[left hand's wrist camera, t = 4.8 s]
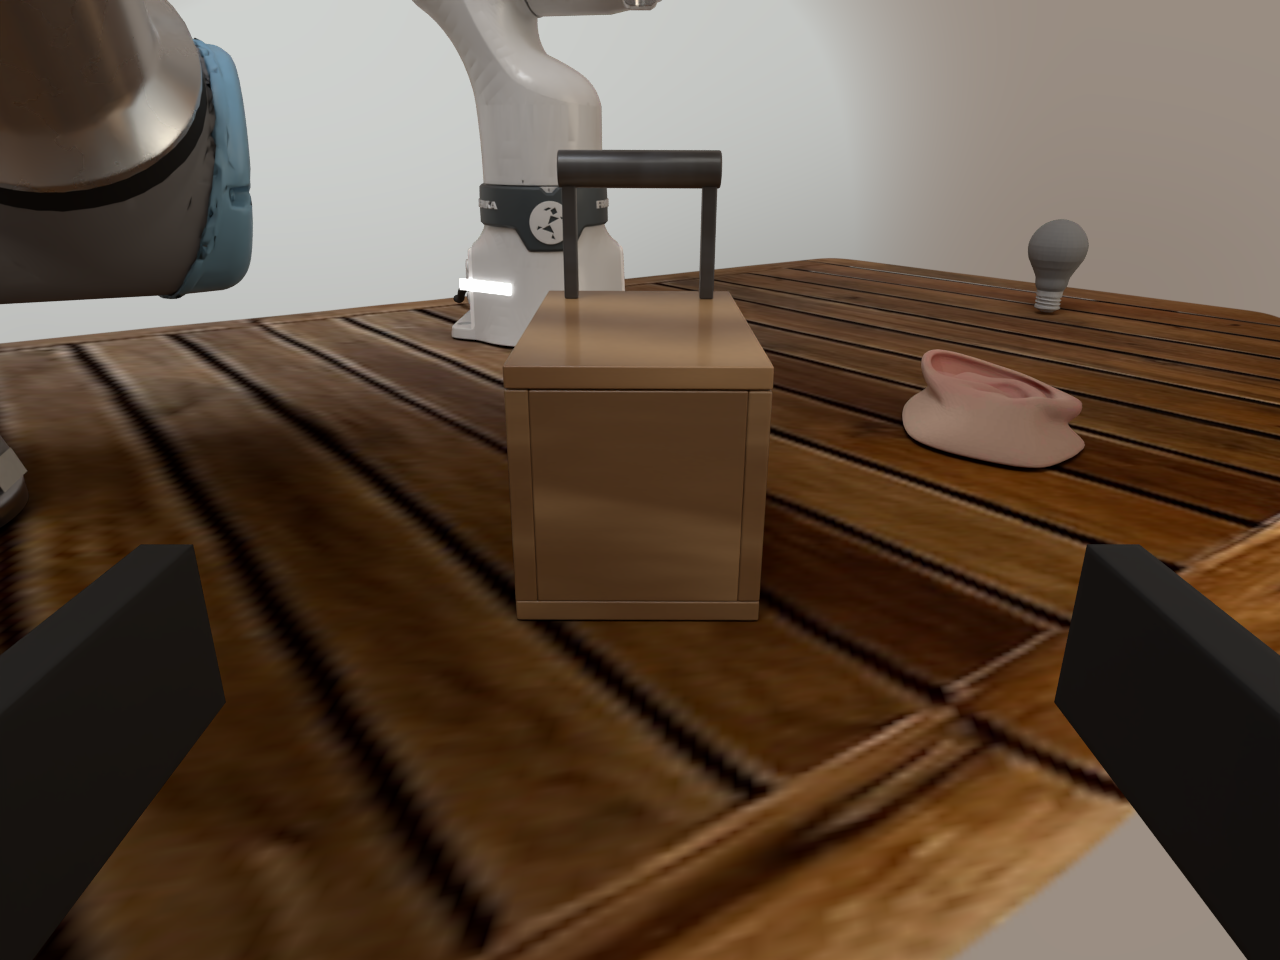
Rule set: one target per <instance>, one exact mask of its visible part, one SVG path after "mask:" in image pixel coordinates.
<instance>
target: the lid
mask: <svg viewBox="0 0 1280 960" xmlns="http://www.w3.org/2000/svg"><path fill="white" fill-rule="evenodd" d="M721 177H722V153H721V151H719V150H558V152H557V180H558V186H559V187H560V188H561V190H562V225H563V261H564V291H549V292H548V293H547V295H546V297H545V298H544V300H543V302H542V303H541V305H540V306H539V308H538V310H537V311H536V313H535V315H534V316H533V318H532V320H531V321H530V323H529V324H528V326H527V328H526V329H525V331H524V333H523V334H522V336H521V338H520V339H519V341H518V343H517V344H516V346H515V347H514V349H513V351H512V352H511V354H510V356H509V357H508V359H507V361H506V362H505V364H504V365H503V380H504V388H506V389H745V390H771V389H772V388H773V377H774V367H773V365H772V363H771V362H770V360H769V358H768V357H767V355H766V353H765V352H764V350H763V348H762V347H761V345H760V343H759V342H758V340H757V338H756V337H755V335H754V333H753V331H752V330H751V328H750V326H749V325H748V323H747V321H746V320H745V318H744V316H743V315H742V313H741V311H740V310H739V308H738V306H737V304H736V303H735V301H734V299H733V298H732V296H731V294H730V293H729V292H728V291H714V263H715V235H716V207H717V188H720V185H721ZM577 188H702V209H701V243H700V276H699V291H579V277H578V231H577Z"/></svg>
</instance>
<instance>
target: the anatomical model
mask: <svg viewBox="0 0 1280 960" xmlns="http://www.w3.org/2000/svg"><path fill="white" fill-rule="evenodd" d="M921 368H922V373H923V376H924V378H925V381H926V382H927V384H928V386H927V387H926V389H924V390H923V391H921V392H919V393H918V394H916V395H915V396H913V397H912V398H911V399H910V400H909V401H908V402H907V403H906V404H905V406H904V409H903V414H902V418H903V424H904V427H905V429H906V431H907V433H908V434H909V435H910V436H911V437H912V438H913V439H915V440H916V441H918V442H920V443H922V444H925V445H927V446H930V447H933V448H936V449H939V450H942V451H945V452H949V453H953V454H957V455H960V456H965V457H969V458H973V459H978V460H983V461H987V462H992V463H998V464H1003V465H1009V466H1016V467H1024V468H1043V467H1048V466H1052V465H1055V464H1058V463H1060V462H1063V461H1065V460H1067V459H1069V458H1071V457H1073V456H1075V455H1076V454H1078V453H1079V452H1080V451H1081V450H1082V449H1083V448H1084V446H1085V444H1084V441H1083V440H1082V439H1081V438H1080V437H1079V436H1078V435H1077V434H1076V433H1075V432H1074V431H1073V430H1072V429H1071V428H1070V427H1069V425H1068V422H1069V421H1070V420H1072V419H1073V418H1075V417H1076V416H1078V415H1079V413H1080V412H1081V409H1082V403H1081V402H1080V401H1079V400H1078V399H1077V398H1075V397H1073V396H1071V395H1069V394H1067V393H1064V392H1062V391H1060V390H1058V389H1056V388H1053V387H1051V386H1049V385H1047V384H1045V383H1043V382H1041V381H1038V380H1036V379H1034V378H1032V377H1029V376H1027V375H1025V374H1022V373H1019V372H1017V371H1014V370H1011V369H1008V368H1005V367H1002V366H999V365H996V364H992V363H989V362H986V361H983V360H980V359H977V358H974V357H970V356H967V355H963V354H960V353H956V352H951V351H946V350H930V351H928V352H926V353H925V354H924V356H923V358H922V362H921Z"/></svg>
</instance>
